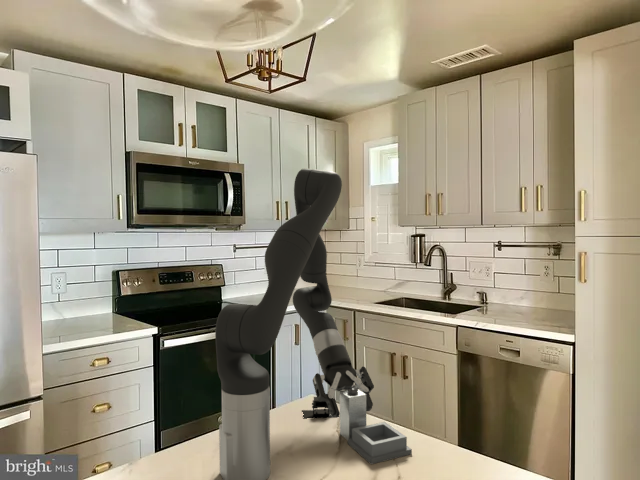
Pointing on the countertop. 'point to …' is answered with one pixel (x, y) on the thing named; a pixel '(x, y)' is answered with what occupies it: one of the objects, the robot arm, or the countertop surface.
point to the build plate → (318, 410)
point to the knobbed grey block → (352, 411)
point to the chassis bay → (379, 442)
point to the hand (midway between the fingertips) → (353, 412)
